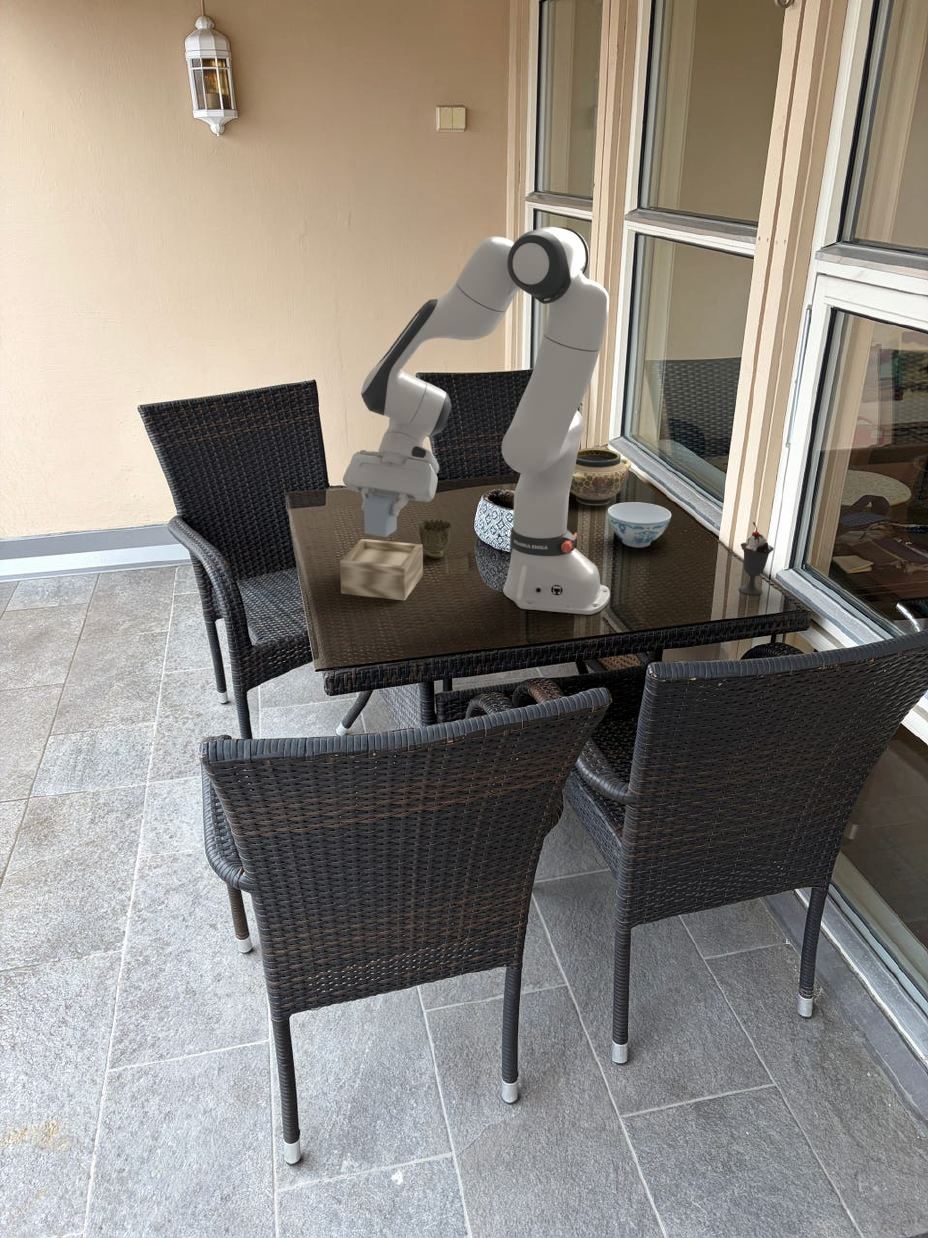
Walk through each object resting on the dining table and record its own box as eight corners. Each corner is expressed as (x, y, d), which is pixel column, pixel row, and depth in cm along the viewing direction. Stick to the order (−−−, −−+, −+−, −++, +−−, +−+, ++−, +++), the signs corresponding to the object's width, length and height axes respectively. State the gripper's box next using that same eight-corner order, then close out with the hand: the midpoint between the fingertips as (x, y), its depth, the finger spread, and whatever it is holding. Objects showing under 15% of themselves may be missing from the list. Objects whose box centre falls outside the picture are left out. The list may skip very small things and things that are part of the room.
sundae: (738, 582, 204) (747, 517, 198) (769, 588, 201) (780, 522, 195) (730, 593, 199) (740, 526, 192) (762, 599, 196) (773, 532, 190)
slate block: (396, 529, 198) (396, 497, 195) (386, 537, 193) (385, 504, 190) (375, 525, 199) (374, 494, 196) (364, 533, 195) (363, 501, 192)
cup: (447, 563, 212) (447, 530, 209) (415, 561, 213) (415, 528, 210) (454, 552, 219) (454, 519, 215) (423, 549, 220) (423, 517, 217)
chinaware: (602, 550, 221) (604, 519, 217) (608, 529, 234) (610, 499, 231) (666, 556, 218) (669, 525, 214) (669, 534, 231) (672, 505, 227)
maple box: (422, 576, 206) (422, 544, 203) (404, 601, 194) (404, 568, 191) (362, 570, 209) (361, 538, 206) (341, 594, 197) (339, 561, 194)
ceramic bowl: (611, 496, 266) (607, 443, 263) (654, 497, 251) (649, 441, 248) (542, 510, 255) (536, 455, 251) (582, 513, 240) (576, 454, 236)
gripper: (350, 441, 198) (329, 498, 195) (438, 453, 192) (418, 512, 188) (360, 456, 204) (340, 512, 200) (446, 468, 197) (427, 526, 193)
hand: (379, 512), depth 194 cm, fingers closed on slate block, 5 cm apart
